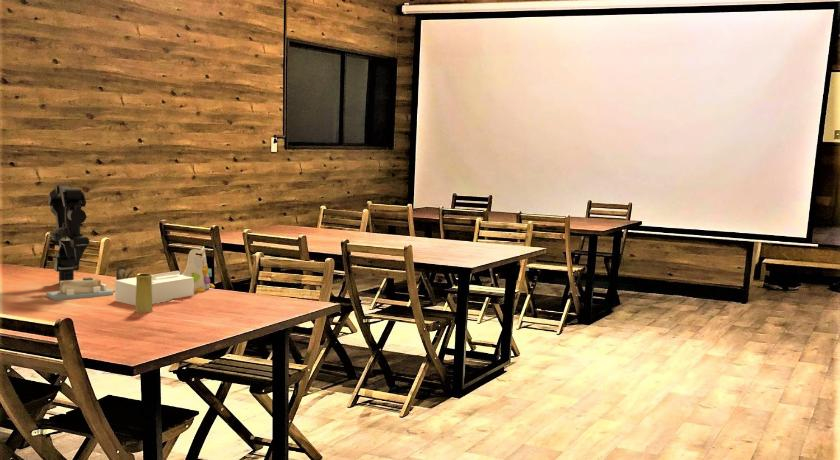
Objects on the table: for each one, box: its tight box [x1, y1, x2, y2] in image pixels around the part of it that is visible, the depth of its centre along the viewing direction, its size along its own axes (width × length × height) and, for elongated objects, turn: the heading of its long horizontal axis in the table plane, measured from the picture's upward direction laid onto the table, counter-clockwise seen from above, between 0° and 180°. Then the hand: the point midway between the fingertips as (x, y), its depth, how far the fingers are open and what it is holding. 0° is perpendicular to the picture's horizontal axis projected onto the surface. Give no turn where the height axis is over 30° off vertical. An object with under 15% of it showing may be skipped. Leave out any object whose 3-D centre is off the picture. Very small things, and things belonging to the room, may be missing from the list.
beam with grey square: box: [59, 277, 102, 295], centre depth 336 cm, size 4×14×5 cm, turn 132°
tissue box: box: [114, 270, 195, 307], centre depth 333 cm, size 14×25×11 cm, turn 143°
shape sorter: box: [181, 246, 216, 292], centre depth 354 cm, size 20×10×18 cm, turn 169°
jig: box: [45, 282, 114, 301], centre depth 336 cm, size 10×22×4 cm, turn 132°
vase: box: [134, 272, 153, 314], centre depth 310 cm, size 6×6×14 cm
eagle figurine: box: [115, 266, 135, 280], centre depth 351 cm, size 8×7×9 cm
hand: (73, 259), depth 345 cm, fingers open, 9 cm apart
